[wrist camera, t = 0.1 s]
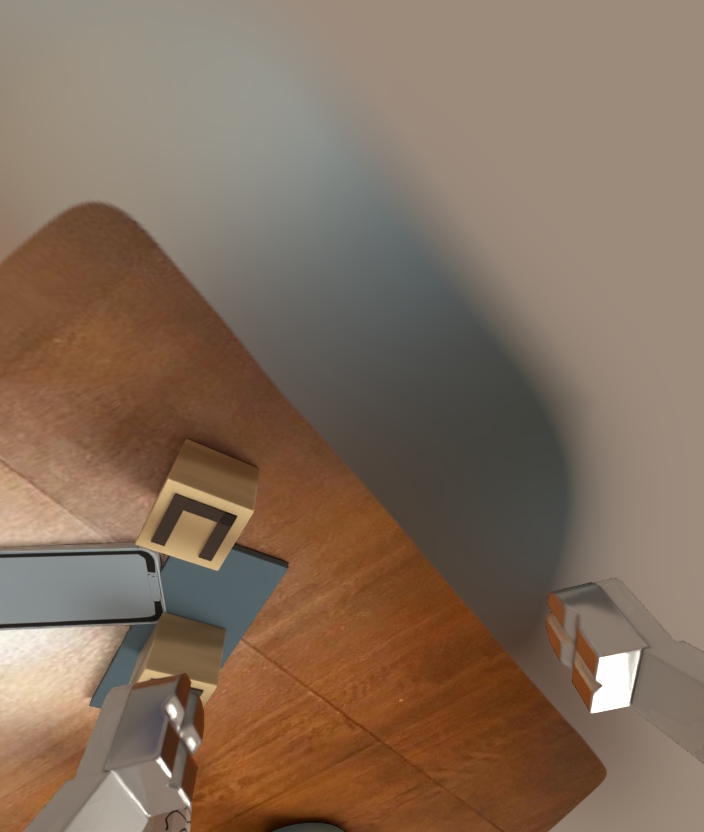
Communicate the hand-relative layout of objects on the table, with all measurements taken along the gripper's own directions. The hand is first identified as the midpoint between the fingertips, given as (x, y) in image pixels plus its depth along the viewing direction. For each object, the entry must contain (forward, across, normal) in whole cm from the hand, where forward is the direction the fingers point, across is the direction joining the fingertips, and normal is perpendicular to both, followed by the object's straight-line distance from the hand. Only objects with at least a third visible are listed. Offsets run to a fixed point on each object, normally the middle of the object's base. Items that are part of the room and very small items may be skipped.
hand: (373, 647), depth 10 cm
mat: (+18, +15, +20) cm, 31 cm away
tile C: (+18, +9, +6) cm, 21 cm away
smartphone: (+19, +22, +12) cm, 31 cm away
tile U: (+18, +15, +20) cm, 30 cm away
